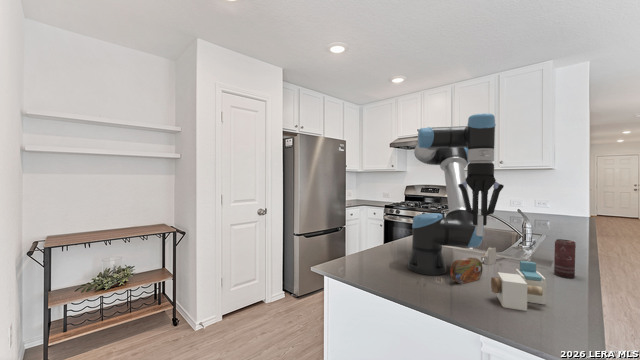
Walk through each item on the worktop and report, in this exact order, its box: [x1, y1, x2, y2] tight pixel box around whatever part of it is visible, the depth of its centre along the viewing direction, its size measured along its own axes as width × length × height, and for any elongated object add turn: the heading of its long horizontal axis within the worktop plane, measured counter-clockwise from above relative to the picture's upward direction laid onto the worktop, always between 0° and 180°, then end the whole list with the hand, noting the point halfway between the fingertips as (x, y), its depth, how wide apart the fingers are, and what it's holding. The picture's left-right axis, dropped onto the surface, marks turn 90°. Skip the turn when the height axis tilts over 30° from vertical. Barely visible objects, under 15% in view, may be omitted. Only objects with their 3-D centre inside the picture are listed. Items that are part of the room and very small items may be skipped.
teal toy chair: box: [518, 260, 542, 281], centre depth 89 cm, size 4×7×4 cm, turn 158°
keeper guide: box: [514, 268, 547, 305], centre depth 89 cm, size 6×7×8 cm
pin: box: [490, 276, 543, 296], centre depth 85 cm, size 13×5×5 cm, turn 68°
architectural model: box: [480, 247, 497, 266], centre depth 125 cm, size 3×7×7 cm, turn 119°
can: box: [553, 238, 577, 279], centre depth 109 cm, size 6×6×14 cm
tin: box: [449, 257, 484, 285], centre depth 104 cm, size 15×3×8 cm, turn 114°
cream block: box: [496, 271, 528, 312], centre depth 86 cm, size 6×8×8 cm
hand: (479, 235), depth 90 cm, fingers closed
